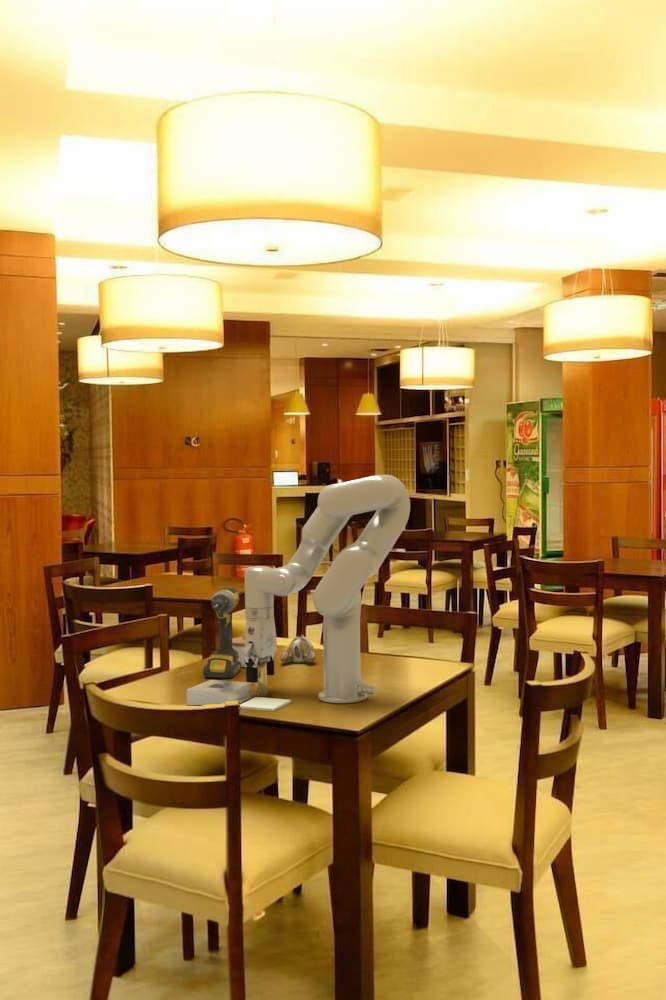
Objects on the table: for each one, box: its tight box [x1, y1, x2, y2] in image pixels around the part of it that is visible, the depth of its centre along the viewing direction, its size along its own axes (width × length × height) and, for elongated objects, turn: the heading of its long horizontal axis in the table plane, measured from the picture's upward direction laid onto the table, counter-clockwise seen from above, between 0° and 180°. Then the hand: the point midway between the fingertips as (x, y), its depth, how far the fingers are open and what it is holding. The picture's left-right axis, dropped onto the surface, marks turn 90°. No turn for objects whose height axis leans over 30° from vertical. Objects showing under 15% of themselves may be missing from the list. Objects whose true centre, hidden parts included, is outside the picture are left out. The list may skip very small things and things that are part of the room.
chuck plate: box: [186, 679, 252, 706], centre depth 251 cm, size 12×12×4 cm
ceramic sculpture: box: [280, 634, 316, 664], centre depth 301 cm, size 11×9×15 cm
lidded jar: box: [232, 633, 246, 668], centre depth 298 cm, size 11×11×9 cm
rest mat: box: [239, 696, 292, 712], centre depth 246 cm, size 10×10×1 cm
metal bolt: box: [252, 656, 270, 697], centre depth 258 cm, size 5×5×10 cm
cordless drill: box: [202, 586, 242, 679], centre depth 282 cm, size 9×20×25 cm, turn 172°
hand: (260, 678), depth 258 cm, fingers open, 8 cm apart
